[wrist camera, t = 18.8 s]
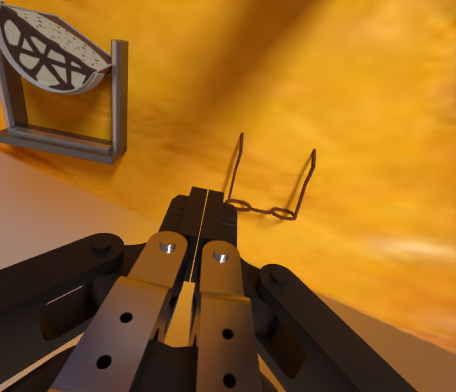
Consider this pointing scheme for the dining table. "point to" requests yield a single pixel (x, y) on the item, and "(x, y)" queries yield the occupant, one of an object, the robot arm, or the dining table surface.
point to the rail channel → (59, 140)
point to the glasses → (274, 207)
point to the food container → (50, 51)
